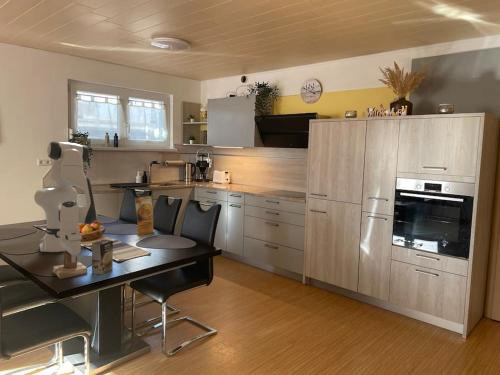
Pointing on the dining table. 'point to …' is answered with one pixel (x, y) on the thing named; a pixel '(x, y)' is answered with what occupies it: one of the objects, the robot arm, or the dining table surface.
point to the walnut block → (69, 261)
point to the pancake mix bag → (144, 215)
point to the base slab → (69, 270)
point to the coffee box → (102, 256)
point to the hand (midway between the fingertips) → (70, 259)
